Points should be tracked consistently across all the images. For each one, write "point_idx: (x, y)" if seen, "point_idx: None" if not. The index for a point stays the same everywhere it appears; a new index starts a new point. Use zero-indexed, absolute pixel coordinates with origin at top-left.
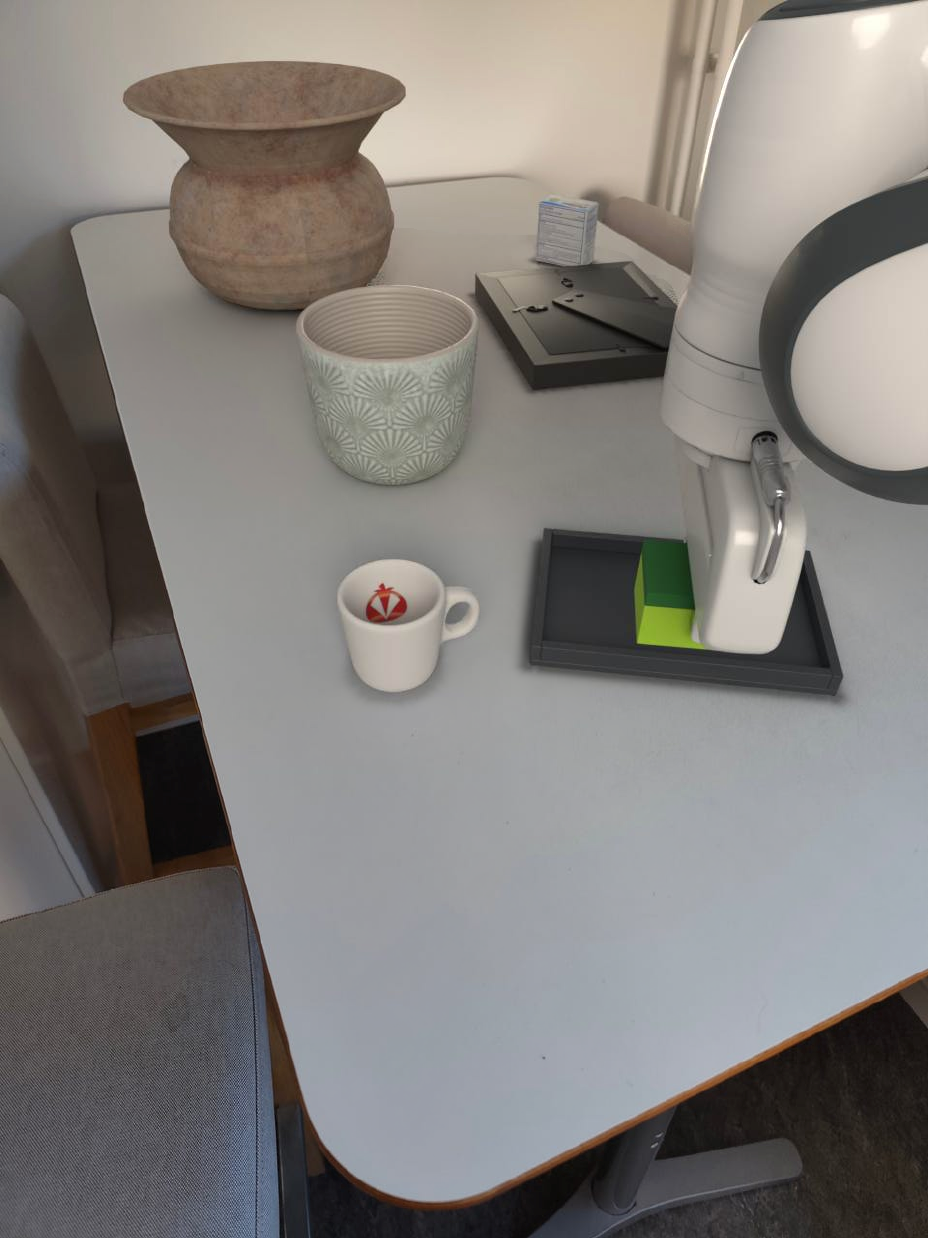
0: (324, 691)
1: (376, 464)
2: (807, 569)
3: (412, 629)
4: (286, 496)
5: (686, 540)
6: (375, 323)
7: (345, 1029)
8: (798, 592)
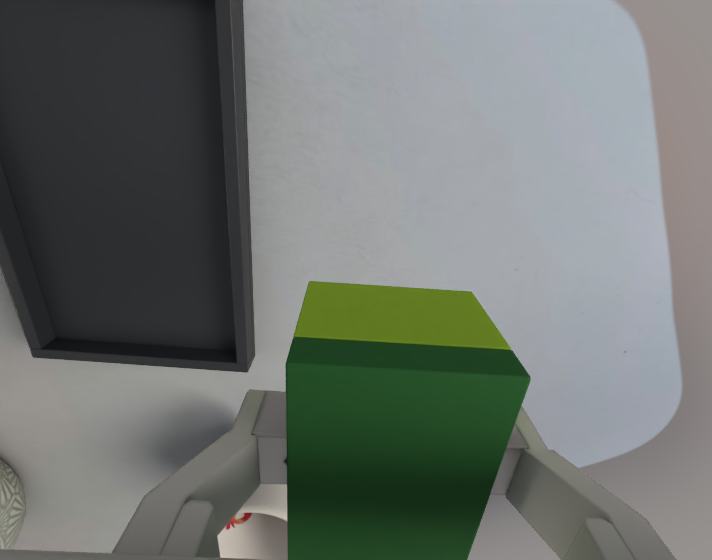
0: None
1: (9, 526)
2: None
3: None
4: (75, 536)
5: (258, 484)
6: None
7: (577, 448)
8: None
